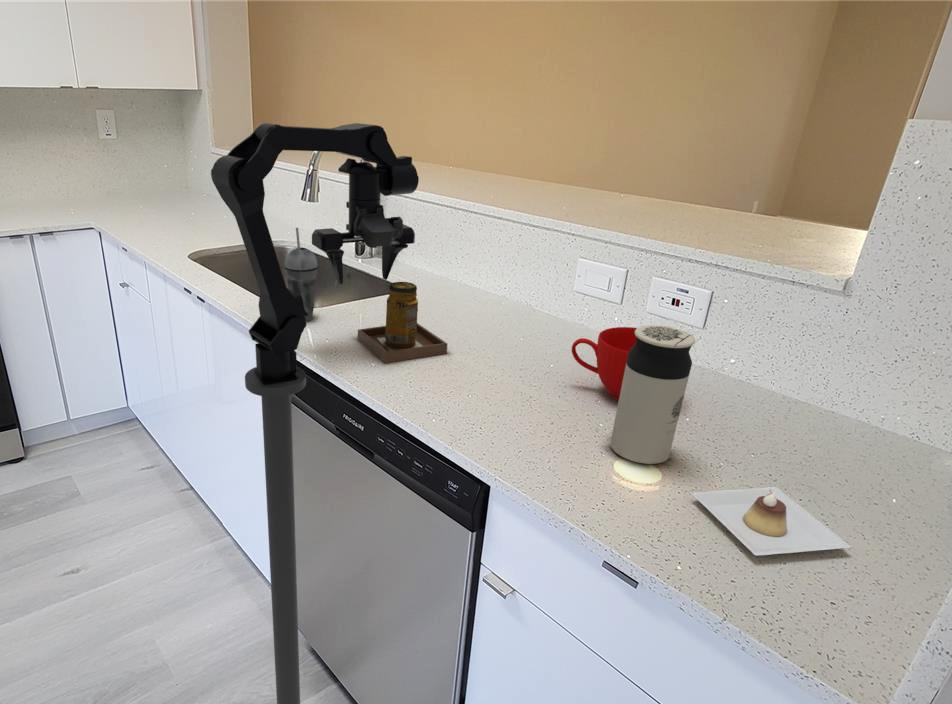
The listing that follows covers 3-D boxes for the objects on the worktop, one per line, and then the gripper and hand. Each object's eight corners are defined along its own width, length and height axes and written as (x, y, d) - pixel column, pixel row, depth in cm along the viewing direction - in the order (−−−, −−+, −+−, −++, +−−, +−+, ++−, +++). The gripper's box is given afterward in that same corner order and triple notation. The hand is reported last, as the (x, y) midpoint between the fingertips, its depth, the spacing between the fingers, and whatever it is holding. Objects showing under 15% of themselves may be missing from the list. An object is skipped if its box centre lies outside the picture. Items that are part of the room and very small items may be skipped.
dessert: (773, 493, 84) (784, 462, 82) (848, 555, 73) (862, 520, 71) (688, 499, 82) (697, 467, 80) (752, 563, 72) (764, 528, 70)
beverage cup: (325, 317, 143) (325, 226, 135) (305, 326, 137) (303, 232, 129) (299, 310, 146) (297, 222, 138) (278, 319, 141) (275, 227, 133)
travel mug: (598, 447, 94) (621, 331, 87) (629, 431, 98) (653, 320, 91) (649, 472, 88) (677, 350, 81) (679, 454, 93) (709, 337, 85)
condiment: (410, 335, 132) (413, 278, 127) (426, 351, 125) (430, 291, 120) (376, 339, 130) (378, 281, 125) (391, 355, 122) (393, 294, 117)
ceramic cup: (569, 370, 119) (577, 319, 115) (668, 386, 114) (680, 333, 109) (562, 399, 108) (570, 344, 104) (671, 419, 102) (685, 361, 98)
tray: (385, 363, 120) (385, 352, 119) (357, 339, 131) (357, 329, 130) (446, 353, 125) (447, 343, 124) (414, 331, 136) (415, 321, 135)
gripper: (332, 208, 106) (332, 299, 113) (431, 202, 114) (426, 288, 120) (310, 197, 116) (311, 282, 122) (402, 193, 123) (399, 272, 129)
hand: (363, 281), depth 123 cm, fingers open, 9 cm apart
